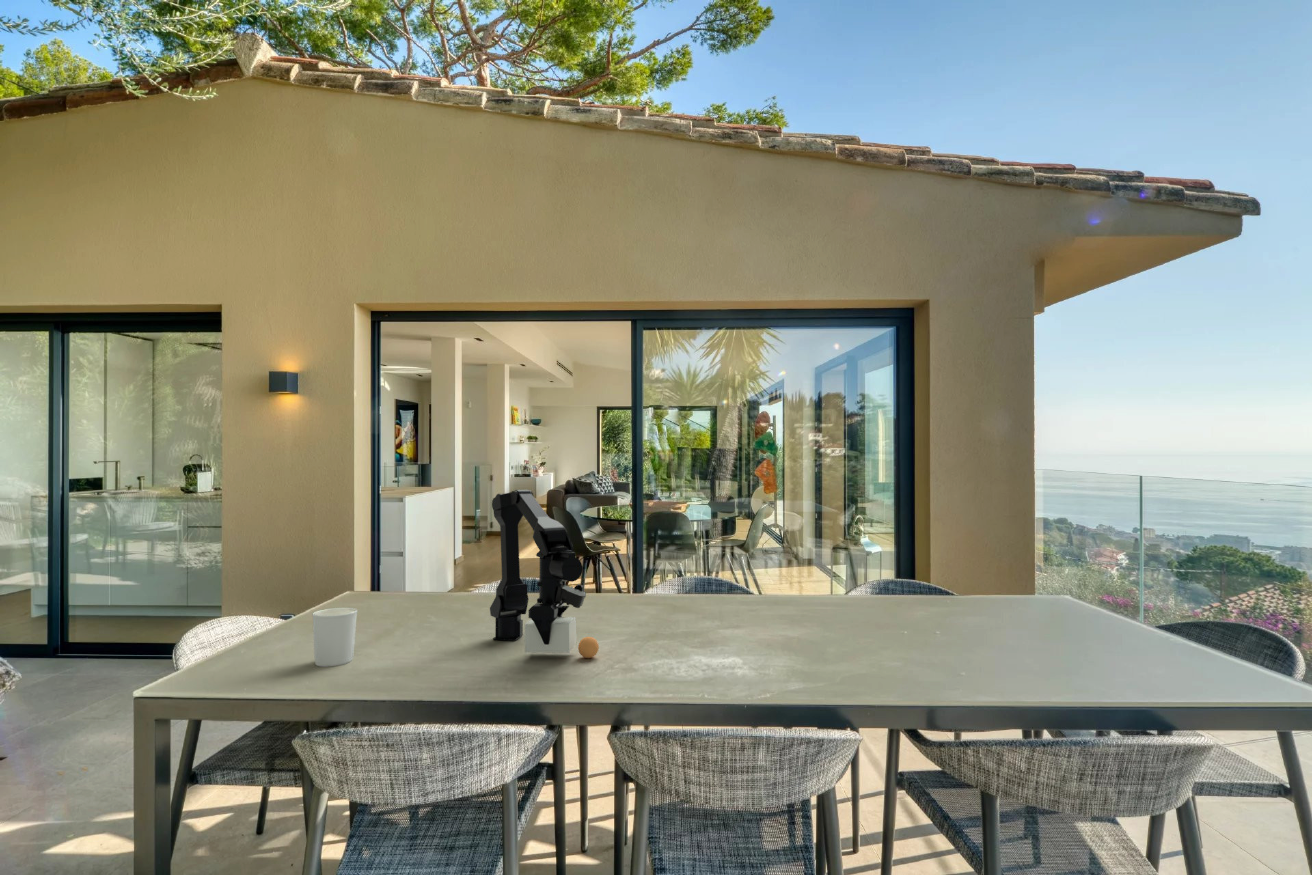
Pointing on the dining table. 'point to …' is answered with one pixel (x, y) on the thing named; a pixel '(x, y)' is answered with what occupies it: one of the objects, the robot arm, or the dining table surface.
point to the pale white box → (551, 637)
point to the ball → (588, 647)
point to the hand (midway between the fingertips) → (550, 640)
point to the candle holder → (334, 636)
